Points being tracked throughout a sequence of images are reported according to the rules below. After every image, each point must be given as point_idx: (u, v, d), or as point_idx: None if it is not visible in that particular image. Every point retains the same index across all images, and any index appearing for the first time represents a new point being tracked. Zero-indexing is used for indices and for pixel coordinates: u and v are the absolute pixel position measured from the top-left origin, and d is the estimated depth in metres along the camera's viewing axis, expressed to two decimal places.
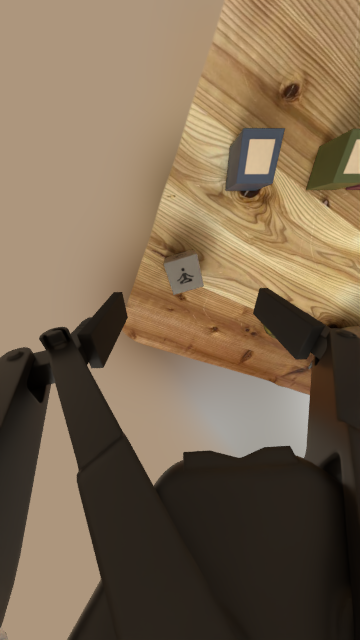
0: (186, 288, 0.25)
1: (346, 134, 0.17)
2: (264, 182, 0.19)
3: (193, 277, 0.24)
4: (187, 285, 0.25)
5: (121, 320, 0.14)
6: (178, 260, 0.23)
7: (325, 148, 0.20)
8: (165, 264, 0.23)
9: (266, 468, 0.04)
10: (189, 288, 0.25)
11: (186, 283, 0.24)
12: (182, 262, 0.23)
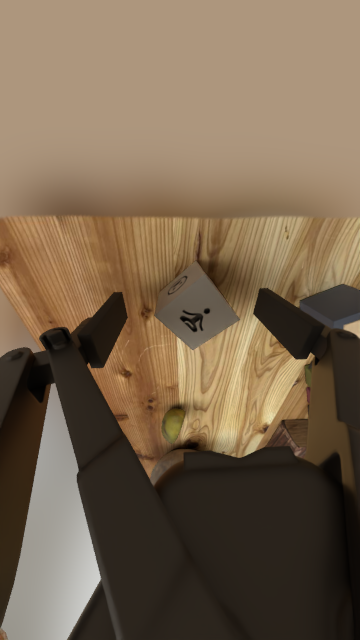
0: (177, 329, 0.13)
1: None
2: None
3: (200, 331, 0.13)
4: (182, 329, 0.13)
5: (121, 320, 0.14)
6: (220, 297, 0.12)
7: None
8: (204, 277, 0.11)
9: (266, 469, 0.04)
10: (179, 334, 0.14)
11: (185, 326, 0.13)
12: (218, 305, 0.12)
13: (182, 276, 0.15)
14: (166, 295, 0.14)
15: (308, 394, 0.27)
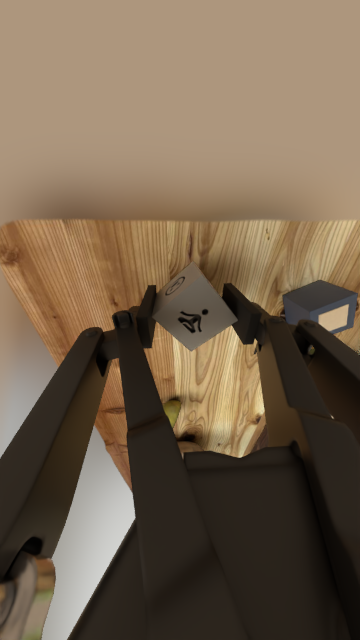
0: (174, 331, 0.13)
1: None
2: None
3: (198, 332, 0.13)
4: (181, 330, 0.13)
5: None
6: (218, 298, 0.12)
7: None
8: (202, 277, 0.11)
9: (266, 469, 0.04)
10: (177, 335, 0.13)
11: (183, 327, 0.13)
12: (217, 305, 0.12)
13: (179, 277, 0.14)
14: (163, 296, 0.14)
15: None
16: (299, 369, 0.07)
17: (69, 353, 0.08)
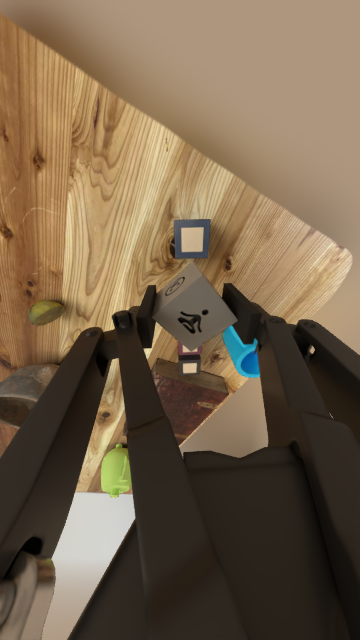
0: (174, 331, 0.13)
1: None
2: (176, 250, 0.21)
3: (198, 332, 0.13)
4: (180, 330, 0.13)
5: None
6: (218, 298, 0.12)
7: None
8: (202, 278, 0.11)
9: (266, 469, 0.04)
10: (177, 335, 0.13)
11: (183, 327, 0.13)
12: (217, 306, 0.12)
13: (179, 277, 0.14)
14: (163, 296, 0.14)
15: None
16: (299, 369, 0.07)
17: (69, 353, 0.08)
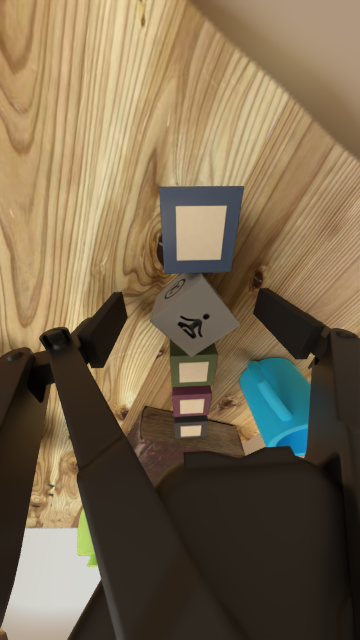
0: (174, 336, 0.12)
1: (214, 349, 0.15)
2: (165, 257, 0.10)
3: (199, 337, 0.13)
4: (180, 335, 0.12)
5: (121, 320, 0.14)
6: (220, 302, 0.11)
7: None
8: (203, 281, 0.10)
9: (267, 469, 0.04)
10: (176, 340, 0.13)
11: (183, 332, 0.12)
12: (218, 310, 0.11)
13: (180, 279, 0.14)
14: (163, 299, 0.13)
15: None
16: None
17: None
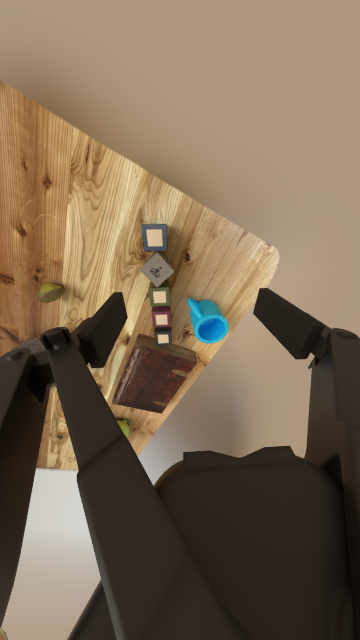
0: (149, 276, 0.33)
1: (168, 286, 0.35)
2: (144, 245, 0.30)
3: (159, 277, 0.33)
4: (151, 276, 0.33)
5: (121, 320, 0.14)
6: (164, 261, 0.31)
7: (166, 283, 0.37)
8: (157, 253, 0.30)
9: (267, 469, 0.04)
10: (150, 278, 0.33)
11: (152, 274, 0.32)
12: (164, 265, 0.32)
13: (152, 255, 0.34)
14: (145, 263, 0.33)
15: None
16: None
17: None
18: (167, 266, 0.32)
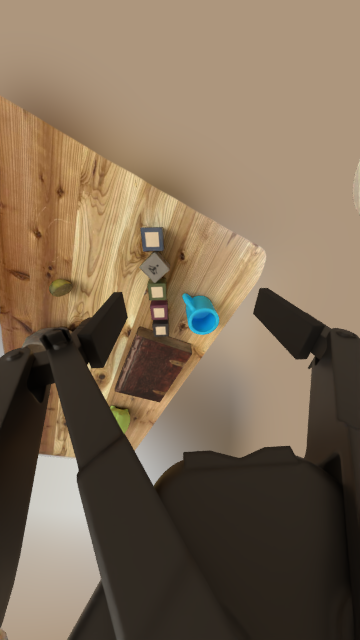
0: (147, 273, 0.37)
1: (164, 282, 0.39)
2: (143, 246, 0.34)
3: (156, 274, 0.37)
4: (149, 273, 0.37)
5: (121, 320, 0.14)
6: (161, 260, 0.35)
7: (163, 279, 0.42)
8: (154, 253, 0.35)
9: (266, 468, 0.04)
10: (148, 275, 0.37)
11: (150, 272, 0.37)
12: (161, 263, 0.36)
13: (150, 255, 0.38)
14: None
15: None
16: None
17: None
18: (163, 264, 0.36)
